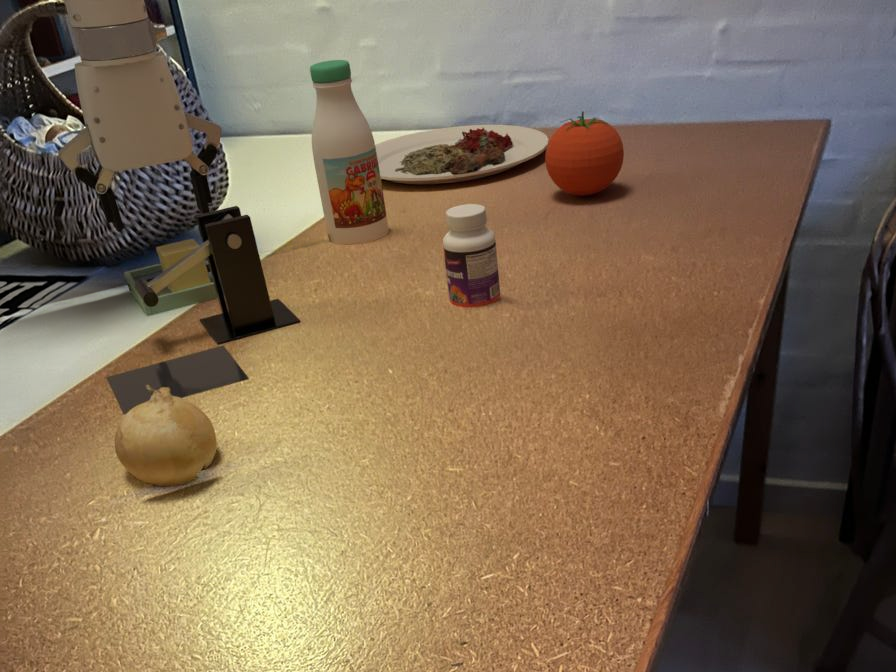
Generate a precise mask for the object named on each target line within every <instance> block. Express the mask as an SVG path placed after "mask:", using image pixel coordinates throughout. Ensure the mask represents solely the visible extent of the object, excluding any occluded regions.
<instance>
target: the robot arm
mask: <svg viewBox="0 0 896 672" xmlns="http://www.w3.org/2000/svg"><path fill="white" fill-rule="evenodd" d="M63 1H64V5H65V8H66V12H67V16H68V18H69V23H70V26H71V29H72V33H73V37H74V40H75V44H76V48H77V51H78V55H79V57H80V61H78V62H76V63H74V75H75V82H76V90H77V94H78V99H79V104H80V108H81V112H82V117H83V120H84V121H83V122H84V125H85V127H84V128H83V129H82V130H81V131H80V132H78V134H76V135H75V136H74V137H73V138H72V139H70V140H69V141H68V142H66V143H65V144H64V145H63V147H61V148H60V149H59V150H57V151H58V152H57V155H58V158H59V159H60V160H61V162H63V164H64V165H65V166H66V167H67V169H68V170H70V171H71V173H72V174H73V175H74V176H75V178H77V180H79V181H80V182H82V183H83V184H85V185H86V186H88V187H90V188H91V189H92V190H94V191H96V193H97V194H98V198H99V201H100V205H101V208H102V211H103V215H104V218H105V221H106V223H107V224H111V223H112V224H113V227H114V228H115V230H116V231H117V233H118V232H123V230H125V227H124V223H123V220H122V217H121V212H120V210H119V206H118V203H117V199H116V196H115V193H114V191H113V190H112V189H111V187H110V185H111V183H112V181H113V178H114V176H115V174H116V172H123V171H130V170H135V169H136V170H137V169H141V168H147V167H152V166H157V165H163V164H169V163H174V162H178V161H182V160H183V161H184V162H185V163H186V164H188V165H189V166H190V173H189V178H190V181H191V185H192V189H193V194H194V198H195V203H196V207H197V209H198V210H199V211H200V212H201V214H203V213H208V212H211V210H210V205H209V204H213V198H212V194H211V193H212V192H211V188H210V185H209V180H208V177H207V175H208V174H209V171H210V167H211V165H212V164H213V162H214V160H215V159H216V157H217V155H218V153H219V152H218V148H219V146H220V140H221V137H222V133H223V132H222V131H223V129H222V126H220V125H219V124H217V123H216V122H213V121H211V120H208V119H205V118H202V117H199V116H197V115H194V114H191V113H188V112H186V111H185V110H184V107H183V104H182V100H181V98H180V94H179V92H178V88H177V85H176V82H175V80H174V77H173V74H172V71H171V69H170V66H169V65H168V64H169V63H168V62H167V59H166V57H165V54H164V53H163V52H162V51H157V49H158V47H157V45H158V42H160V41H161V40H165V39H168V32H167V29H166V24H165V23H156V22H153V21H151V19H150V18H149V15H148V11H147V7H146V3H145V2H146V1H145V0H63ZM190 129H193V130H196V131H199V132H201V133H204V134H205V141H204V144H203V146H202V148H201V149H200V151H199V152H198V155H196V154H195V153H193V149H194V147H193V140H192V135H191V131H190ZM89 146H90V147H91V151H92V154H93V156H94V159H95V160H96V161H97V162H98V164H97V167H96V169H95V171H94V173H93V172H92V171H90V170H88V169H87V168H85V167H84V166H83V165H82V164H81V162H79V160H78V156H79V155H80V154H81V153H82V152H83V151H85V150H86V149H87V148H89Z"/></svg>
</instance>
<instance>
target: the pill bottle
mask: <svg viewBox="0 0 896 672" xmlns="http://www.w3.org/2000/svg"><path fill="white" fill-rule="evenodd" d="M445 217H446V218H445V219H446V226H447V228H448V229H449V231H448V232H447V233H446V234H445V235H444V236H443V239H442V249H443V257H444V258H443V259H444V266H445V273H446V274H445V275H446V281H447V290H448V291H447V292H448V299H449V303H451V305H453V306H456V307H461V308H476V307H482V306H483V307H484V306H487V305H490V304H492V303H495V302H496V301H498V300H499V299H501V286H500V275H499V265H498V252H497V242H496V235H495V233H494V231H493V230H492V229H491V228H489V227H487V226H486V225H487V223H488V222H487V220H488V218H487V212H486V207H485V206H484V205H483V204H479V203H478V204H477V203H466V204H459V205H456V206H452V207H451V208H449V209H447V210H446V212H445Z"/></svg>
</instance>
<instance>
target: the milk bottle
mask: <svg viewBox="0 0 896 672" xmlns="http://www.w3.org/2000/svg"><path fill="white" fill-rule="evenodd" d="M309 73H310V78H311V82H312V87H313V88H314V89H315V93H316V105H315V112H314V119H313V124H312V128H311V150H312V157H313V164H314V169H315V174H316V180H317V186H318V190H319V197H320V203H321V207H322V212H323V218H324V222H325V227H326V231H327V237H328V242H330V243H332V244H336V245H340V246H341V245H342V246H352V245H353V246H354V245H361V244H366V243H370V242H374V241H377V240H380V239H382V238H384V237H386V236H387V235H388V234H389V223H388V216H387V208H386V203H385V197H384V191H383V190H384V189H383V185H382V179H381V177H380V171H379V165H378V158H377V153H376V148H375V145H376V142H375V139H374V134H373V132H372V129H371V127H370V124H369V121H368V120H367V119H366V116H365V115H364V113H363V112H362V110H361V108H360V106H359V104H358V102H357V100H356V98H355V96H354V92H353V89H352V82H353V79H352V71H351V64H350V62H349V61H348V60H345V59H333V60H332V59H331V60H324V61H320V62H317V63H313V64H312V65H311V66H310V67H309Z"/></svg>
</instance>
